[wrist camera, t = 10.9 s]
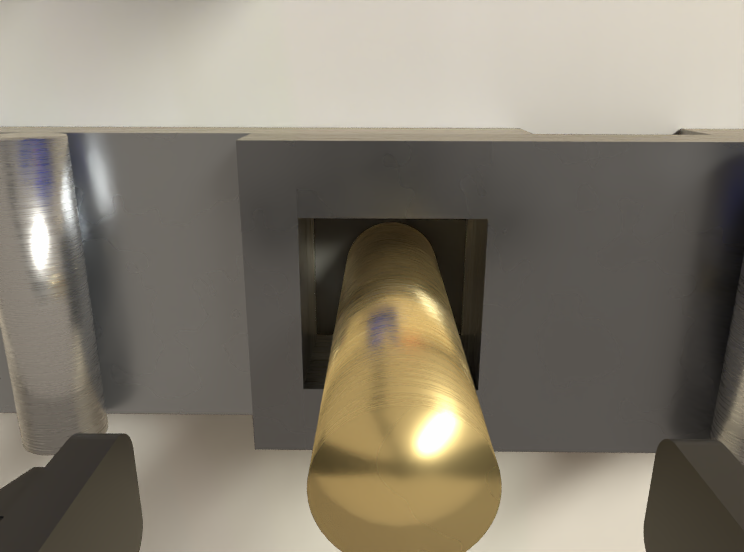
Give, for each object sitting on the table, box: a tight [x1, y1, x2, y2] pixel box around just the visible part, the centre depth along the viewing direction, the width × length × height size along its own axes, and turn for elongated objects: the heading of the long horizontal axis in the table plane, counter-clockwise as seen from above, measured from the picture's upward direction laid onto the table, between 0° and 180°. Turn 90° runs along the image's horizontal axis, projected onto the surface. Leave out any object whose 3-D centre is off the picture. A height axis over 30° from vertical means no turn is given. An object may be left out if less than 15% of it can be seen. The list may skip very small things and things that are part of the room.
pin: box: [307, 222, 501, 552], centre depth 16 cm, size 3×3×12 cm
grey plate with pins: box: [0, 127, 744, 466], centre depth 18 cm, size 9×26×6 cm, turn 90°
